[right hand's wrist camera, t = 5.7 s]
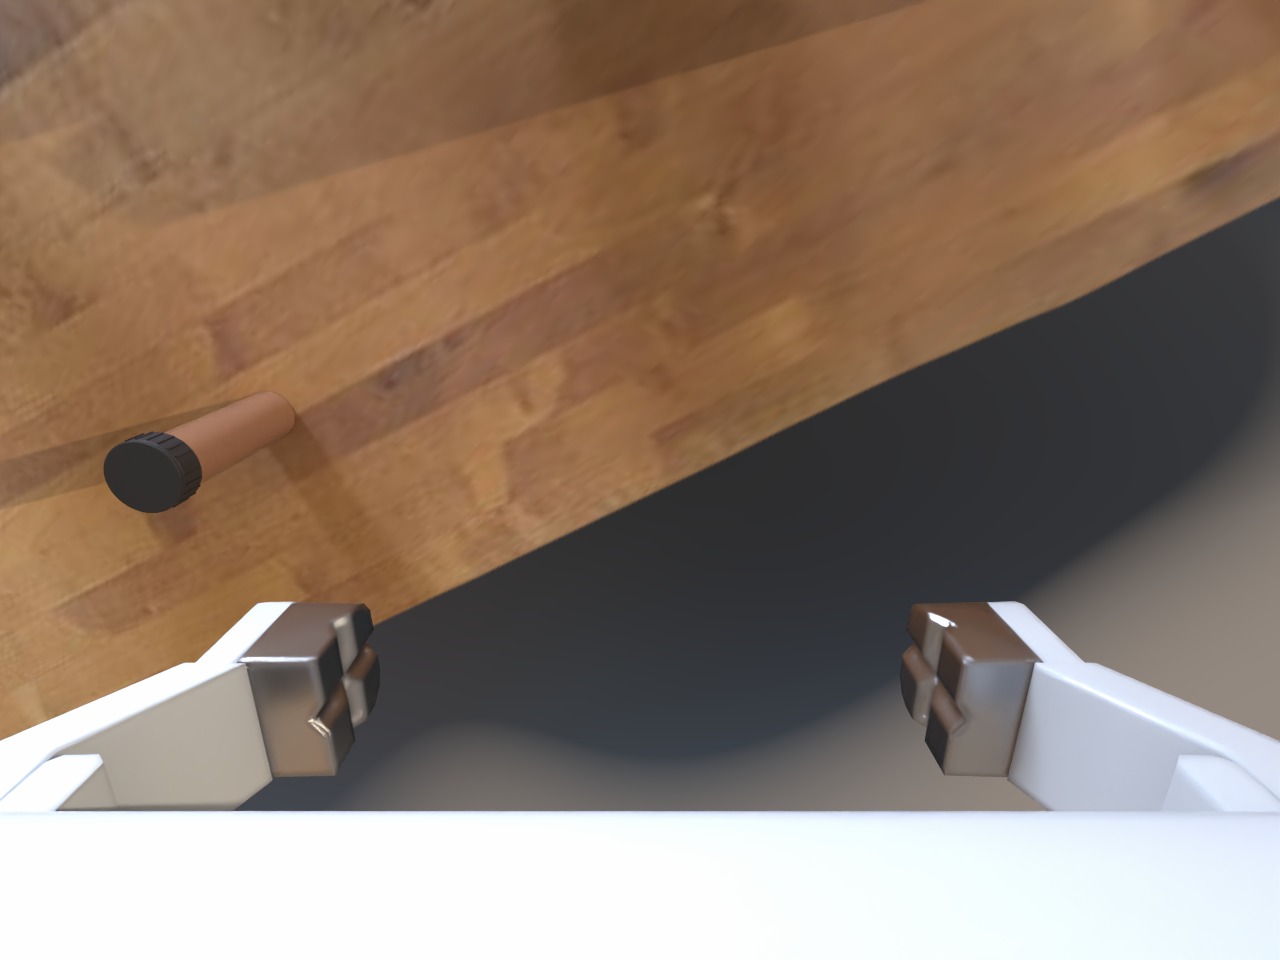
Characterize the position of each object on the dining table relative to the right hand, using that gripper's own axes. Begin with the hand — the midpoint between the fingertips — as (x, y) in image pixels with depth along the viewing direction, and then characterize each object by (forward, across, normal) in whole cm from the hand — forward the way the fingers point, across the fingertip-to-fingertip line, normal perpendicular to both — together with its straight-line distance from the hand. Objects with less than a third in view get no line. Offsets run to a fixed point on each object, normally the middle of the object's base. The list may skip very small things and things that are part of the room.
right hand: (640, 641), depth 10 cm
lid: (+32, +32, +9) cm, 46 cm away
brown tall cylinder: (+48, +32, +9) cm, 58 cm away
